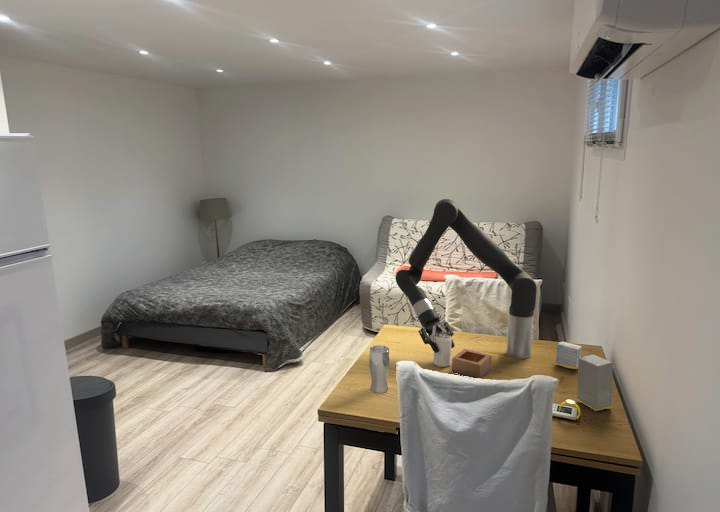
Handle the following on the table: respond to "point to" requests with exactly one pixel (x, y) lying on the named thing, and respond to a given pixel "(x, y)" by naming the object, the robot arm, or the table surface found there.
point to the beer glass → (379, 368)
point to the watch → (571, 403)
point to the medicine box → (568, 354)
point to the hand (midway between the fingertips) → (445, 349)
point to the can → (443, 349)
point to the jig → (471, 363)
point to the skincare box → (595, 381)
